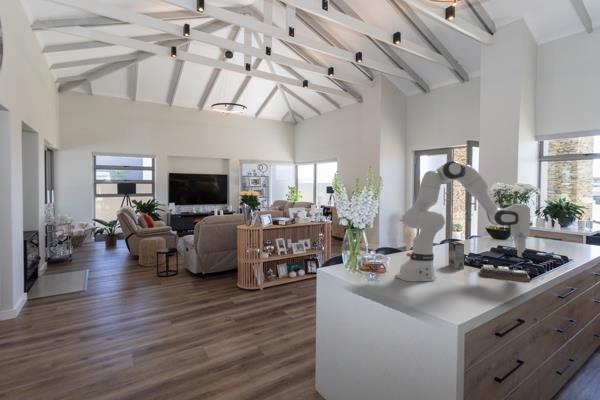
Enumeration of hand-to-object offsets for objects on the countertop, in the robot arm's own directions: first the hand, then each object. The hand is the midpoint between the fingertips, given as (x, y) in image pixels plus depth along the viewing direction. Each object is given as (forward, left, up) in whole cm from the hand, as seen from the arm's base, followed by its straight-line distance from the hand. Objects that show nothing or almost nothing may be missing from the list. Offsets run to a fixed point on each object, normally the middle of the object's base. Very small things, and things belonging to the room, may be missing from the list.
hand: (519, 256), depth 173 cm
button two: (+1, +1, -11) cm, 11 cm away
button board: (-5, +6, -13) cm, 15 cm away
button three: (-10, +11, -9) cm, 18 cm away
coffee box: (-14, +33, -13) cm, 38 cm away
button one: (-5, +6, -9) cm, 12 cm away
